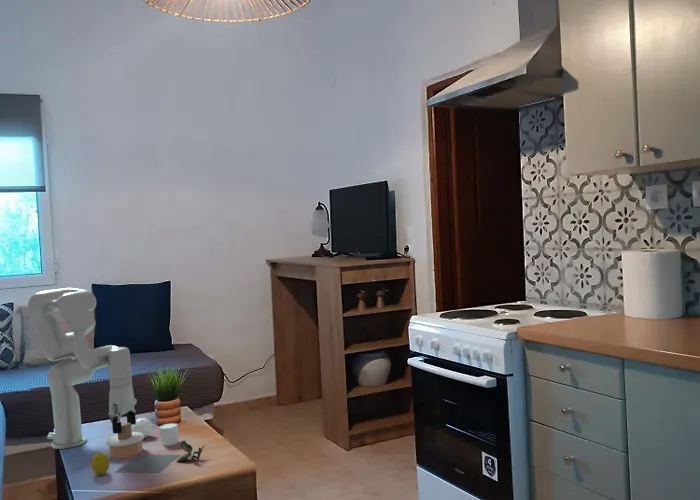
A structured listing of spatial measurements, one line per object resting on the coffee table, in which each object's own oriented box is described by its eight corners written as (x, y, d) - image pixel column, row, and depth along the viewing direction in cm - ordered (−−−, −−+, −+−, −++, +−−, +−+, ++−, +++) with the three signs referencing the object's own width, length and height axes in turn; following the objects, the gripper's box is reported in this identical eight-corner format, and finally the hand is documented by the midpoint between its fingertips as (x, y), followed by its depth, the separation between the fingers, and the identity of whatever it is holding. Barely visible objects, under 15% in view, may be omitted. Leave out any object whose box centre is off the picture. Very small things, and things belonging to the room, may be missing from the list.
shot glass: (182, 440, 242) (180, 422, 242) (175, 447, 235) (174, 428, 235) (164, 441, 243) (163, 423, 242) (157, 447, 236) (156, 429, 236)
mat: (114, 473, 213) (114, 472, 213) (139, 455, 228) (138, 454, 228) (159, 474, 210) (158, 472, 210) (180, 456, 225) (180, 454, 225)
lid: (98, 446, 226) (97, 430, 226) (118, 434, 239) (117, 418, 239) (132, 446, 224) (131, 430, 223) (150, 434, 237) (149, 418, 236)
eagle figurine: (205, 452, 225) (182, 447, 226) (203, 439, 220) (179, 435, 222) (197, 470, 219) (172, 465, 220) (194, 458, 214) (169, 453, 216)
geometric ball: (139, 443, 250) (137, 424, 254) (157, 435, 249) (154, 416, 253) (128, 440, 244) (125, 420, 248) (146, 432, 243) (143, 412, 247)
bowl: (104, 459, 227) (103, 445, 227) (120, 448, 238) (119, 434, 238) (132, 459, 225) (131, 445, 225) (148, 448, 236) (147, 435, 236)
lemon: (95, 473, 214) (93, 450, 214) (112, 471, 215) (110, 448, 214) (90, 480, 209) (88, 456, 208) (107, 478, 209) (105, 454, 209)
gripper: (124, 376, 239) (127, 421, 240) (97, 388, 222) (101, 436, 223) (142, 375, 238) (146, 421, 239) (117, 388, 221) (121, 436, 222)
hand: (124, 428), depth 231 cm, fingers open, 9 cm apart
